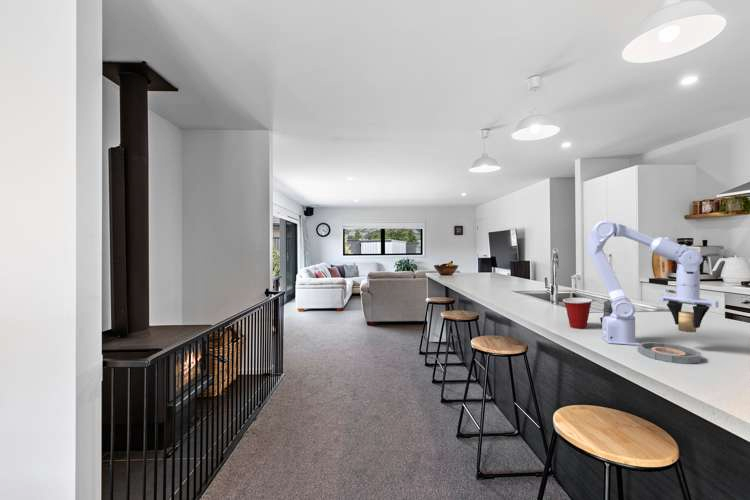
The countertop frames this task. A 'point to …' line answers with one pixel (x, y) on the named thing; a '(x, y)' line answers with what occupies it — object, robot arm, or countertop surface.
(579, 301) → the plastic cup
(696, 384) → the countertop surface
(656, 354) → the round tray
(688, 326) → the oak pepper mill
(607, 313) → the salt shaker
